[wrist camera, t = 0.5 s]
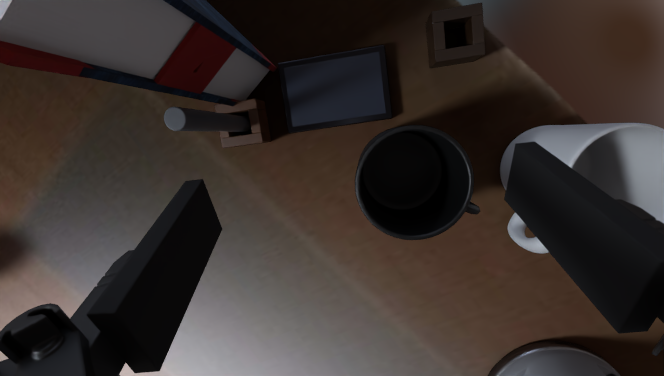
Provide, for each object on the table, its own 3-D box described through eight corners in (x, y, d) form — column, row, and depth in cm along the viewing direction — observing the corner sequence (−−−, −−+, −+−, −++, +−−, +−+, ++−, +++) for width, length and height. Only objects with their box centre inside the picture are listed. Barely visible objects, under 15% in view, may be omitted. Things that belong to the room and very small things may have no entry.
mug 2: (535, 108, 32) (622, 96, 21) (605, 156, 32) (727, 167, 21) (460, 204, 34) (504, 237, 24) (525, 248, 34) (598, 301, 24)
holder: (474, 61, 32) (485, 54, 29) (429, 68, 32) (435, 62, 29) (471, 14, 31) (482, 2, 28) (425, 22, 32) (431, 11, 29)
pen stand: (271, 141, 35) (262, 142, 32) (234, 147, 36) (222, 148, 33) (264, 101, 35) (255, 98, 32) (226, 107, 35) (214, 104, 32)
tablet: (391, 118, 34) (392, 118, 32) (290, 133, 35) (288, 133, 34) (383, 47, 32) (384, 44, 31) (279, 65, 34) (277, 63, 33)
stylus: (257, 130, 35) (188, 129, 22) (243, 132, 35) (166, 132, 22) (254, 116, 35) (183, 105, 21) (240, 118, 35) (161, 108, 21)
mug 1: (441, 237, 35) (466, 273, 26) (343, 191, 35) (335, 210, 26) (485, 160, 33) (528, 170, 24) (381, 112, 34) (386, 104, 25)
